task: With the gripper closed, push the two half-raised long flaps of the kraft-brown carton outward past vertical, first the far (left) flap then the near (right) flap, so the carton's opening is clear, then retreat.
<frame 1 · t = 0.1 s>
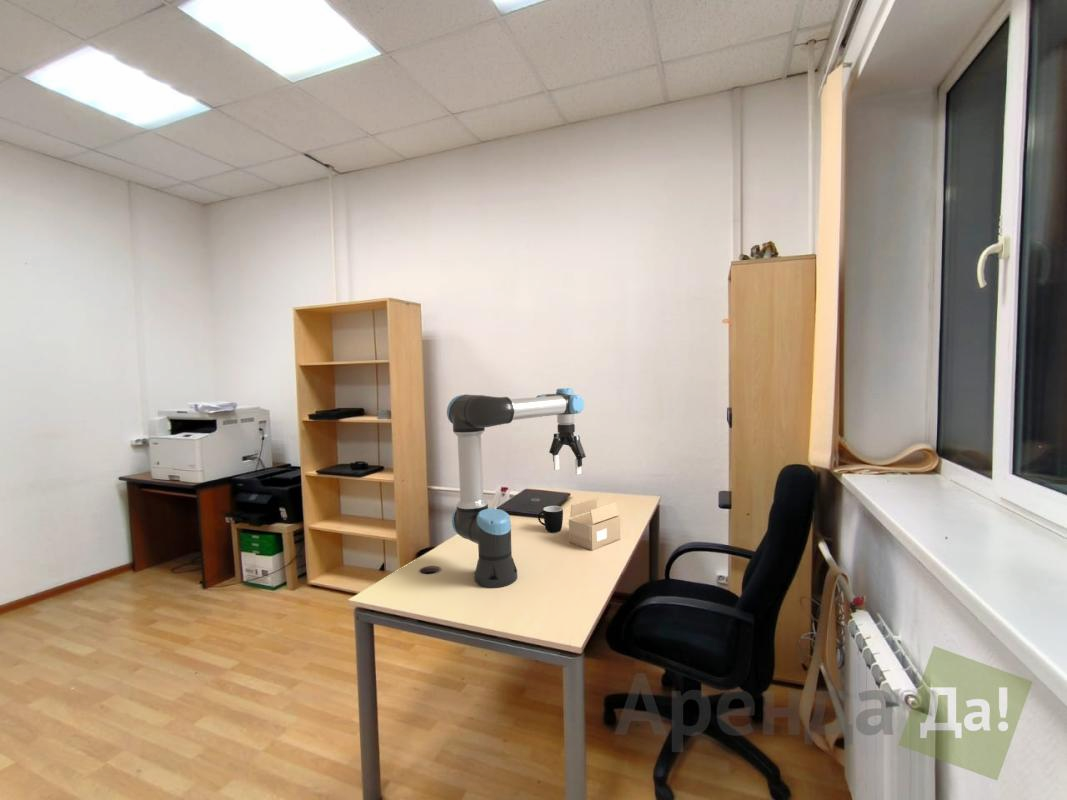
hand: (567, 471, 204), 28 cm above the table, fingers open, 13 cm apart
left flap: (584, 507, 200), point 13 cm above the table, hinge at 80.0°
right flap: (604, 512, 192), point 13 cm above the table, hinge at 80.0°
carton: (595, 541, 197), on the table
mug: (550, 530, 212), on the table
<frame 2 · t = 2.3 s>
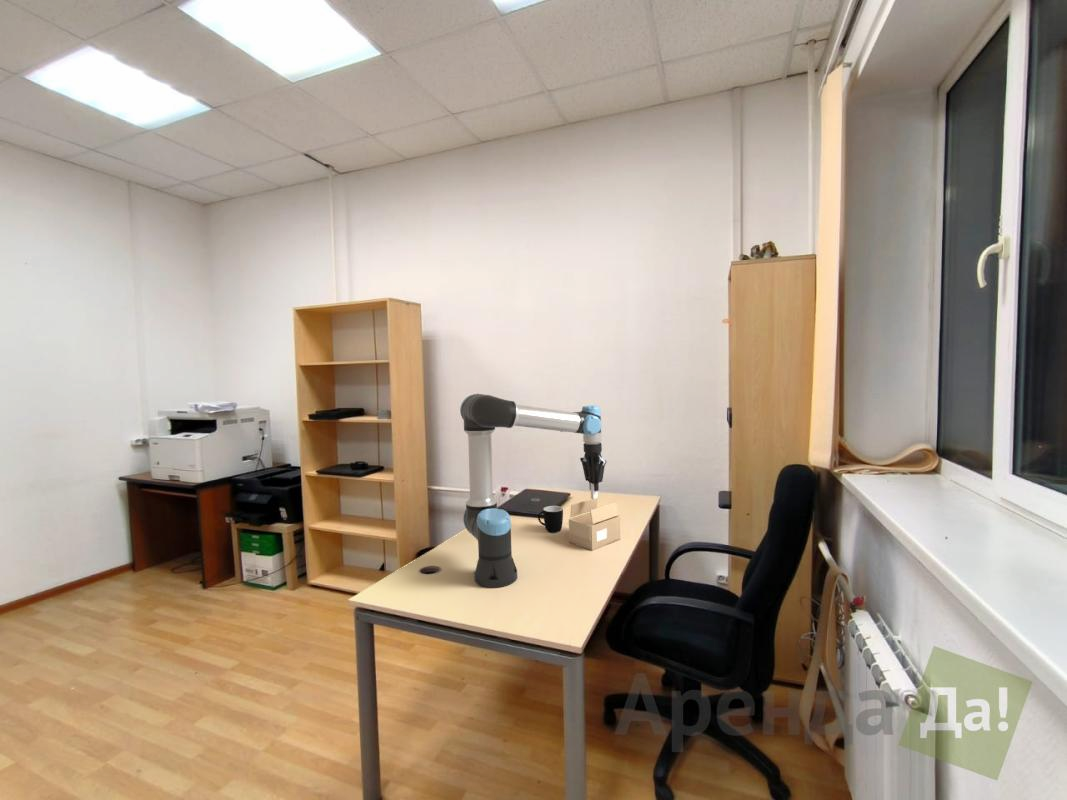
hand: (594, 498, 196), 18 cm above the table, fingers closed
nothing on the table moved.
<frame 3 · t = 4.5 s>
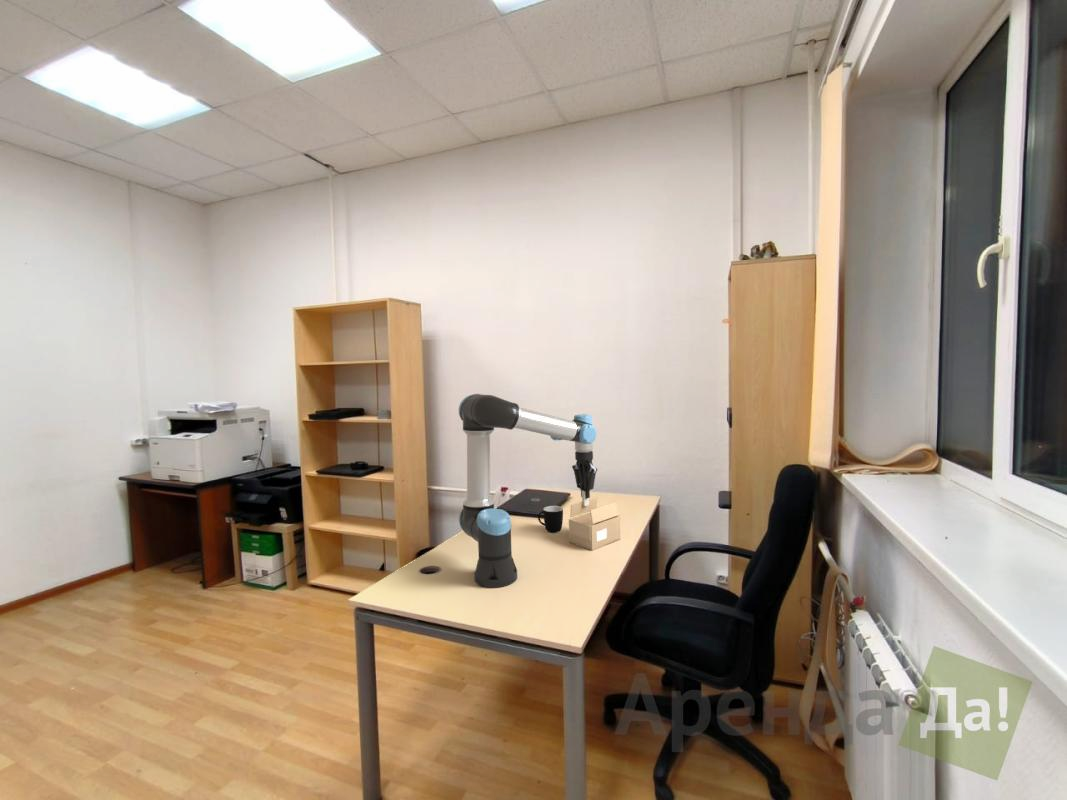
hand: (585, 505, 200), 14 cm above the table, fingers closed
left flap: (584, 507, 201), point 13 cm above the table, hinge at 81.8°, touching gripper
everything else where it was.
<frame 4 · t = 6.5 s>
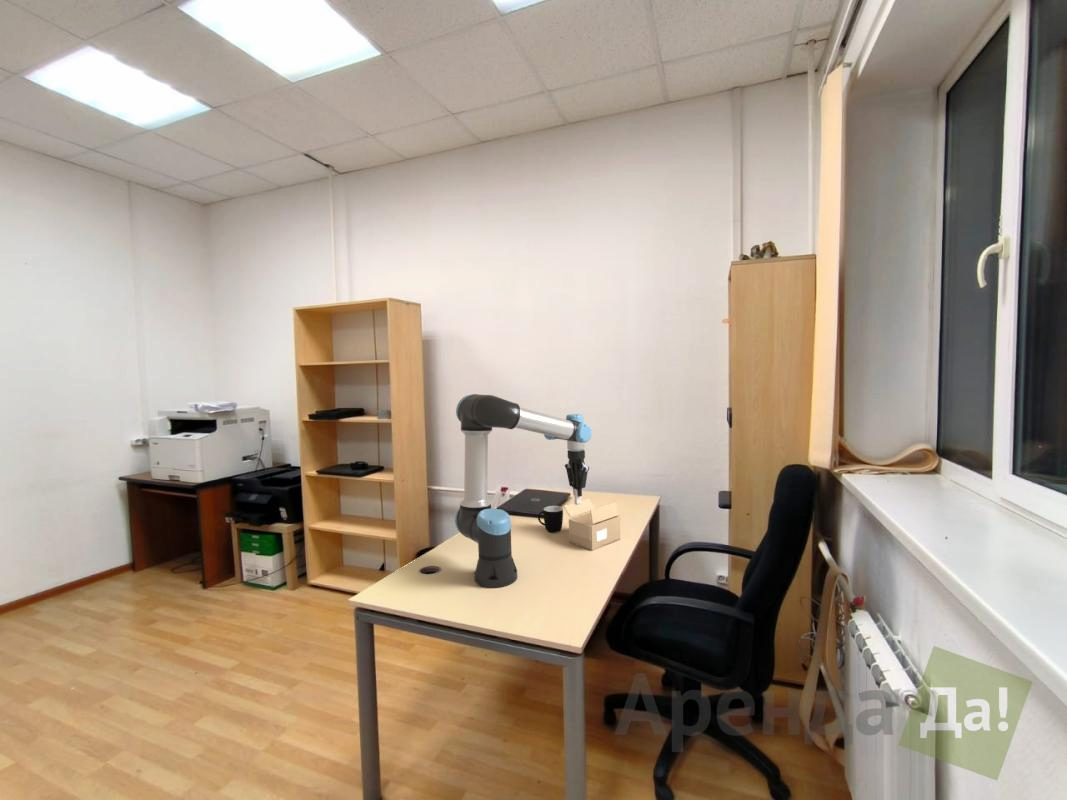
hand: (578, 503, 203), 14 cm above the table, fingers closed
left flap: (580, 507, 202), point 13 cm above the table, hinge at 132.8°, touching gripper
everything else where it was.
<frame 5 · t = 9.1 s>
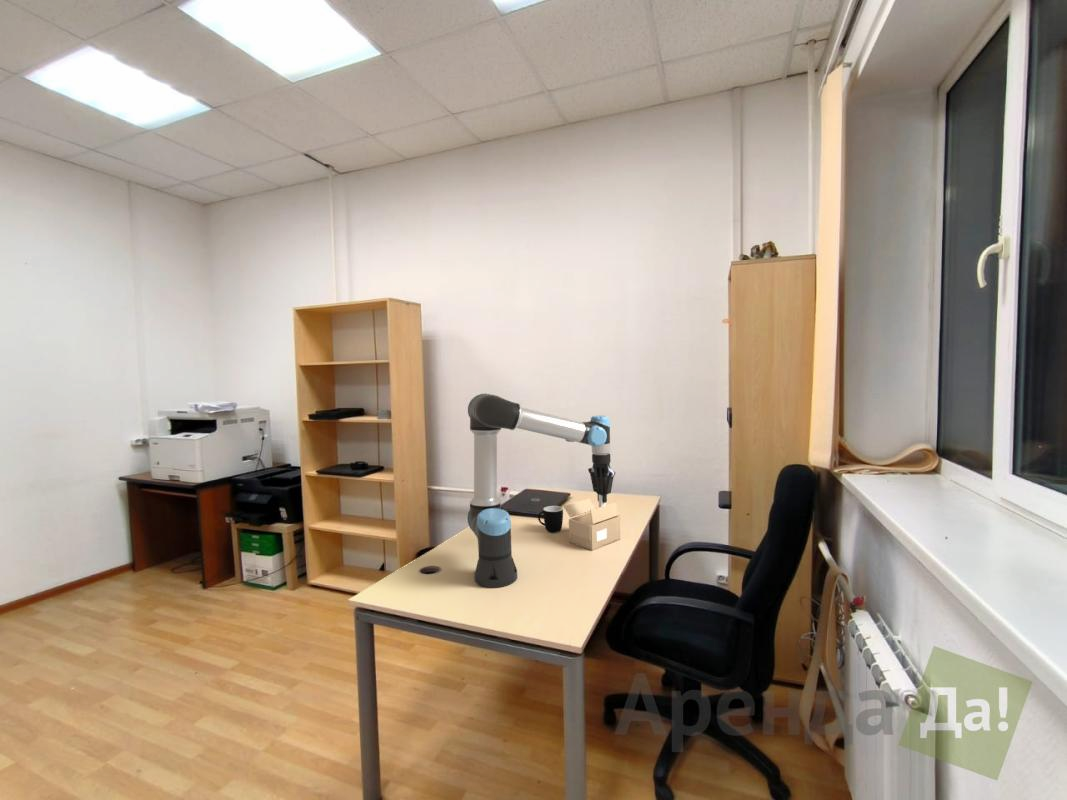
hand: (602, 509, 192), 14 cm above the table, fingers closed
left flap: (580, 507, 202), point 13 cm above the table, hinge at 132.9°
right flap: (604, 512, 192), point 13 cm above the table, hinge at 80.3°, touching gripper
everything else where it was.
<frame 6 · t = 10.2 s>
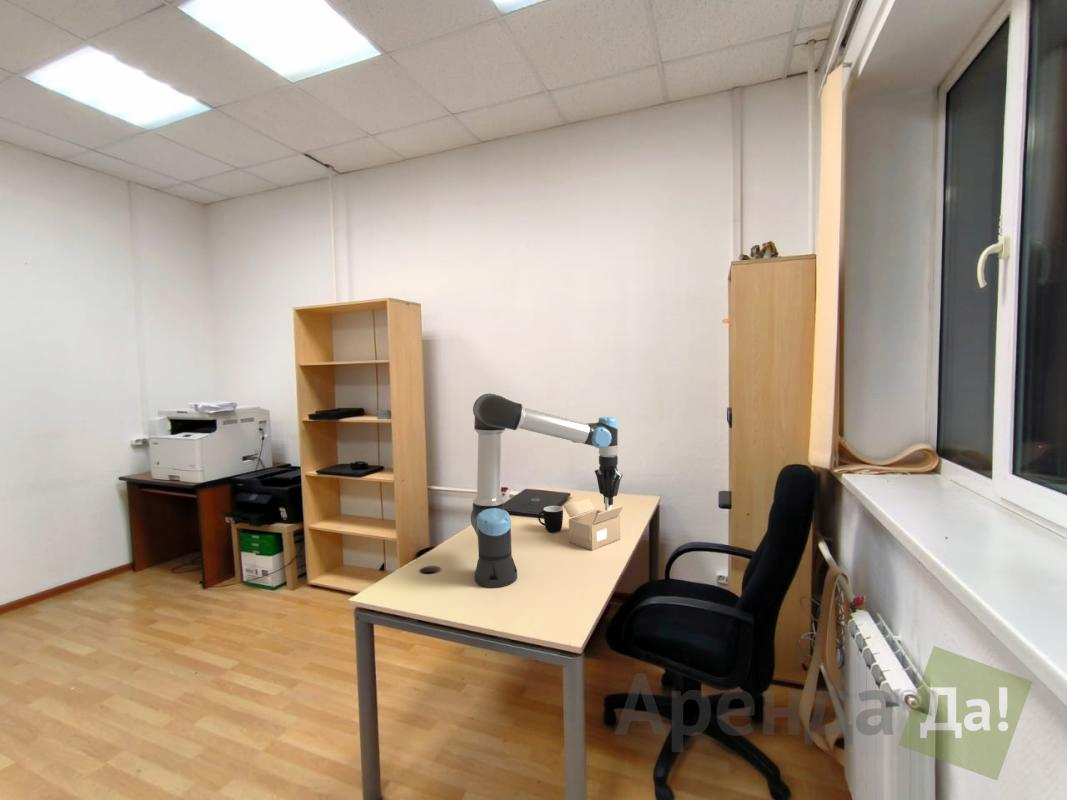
hand: (608, 512, 190), 14 cm above the table, fingers closed
right flap: (608, 514, 190), point 13 cm above the table, hinge at 120.9°, touching gripper
everything else where it was.
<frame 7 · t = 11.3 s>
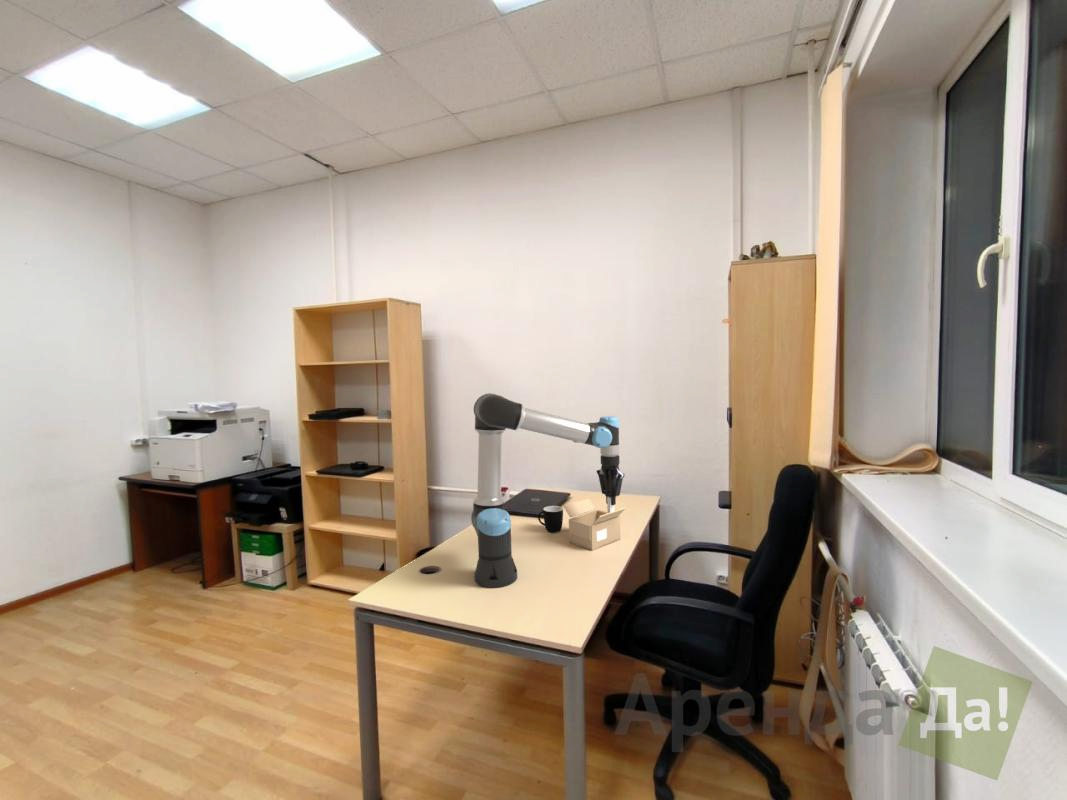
hand: (611, 512, 189), 14 cm above the table, fingers closed
right flap: (609, 515, 190), point 13 cm above the table, hinge at 133.9°, touching gripper
everything else where it was.
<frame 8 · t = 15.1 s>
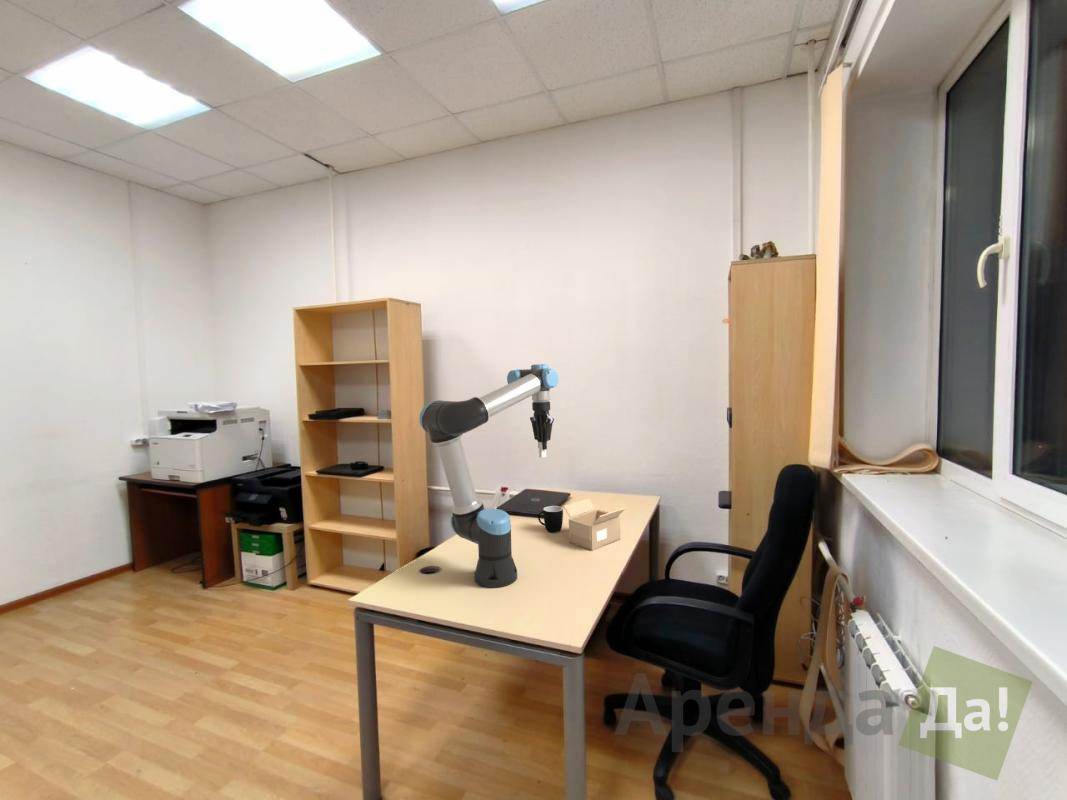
hand: (542, 456, 196), 36 cm above the table, fingers closed
right flap: (609, 515, 190), point 13 cm above the table, hinge at 133.9°
everything else where it was.
at the end: left flap at +133° (first picture: +80°); right flap at +134° (first picture: +80°) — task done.
